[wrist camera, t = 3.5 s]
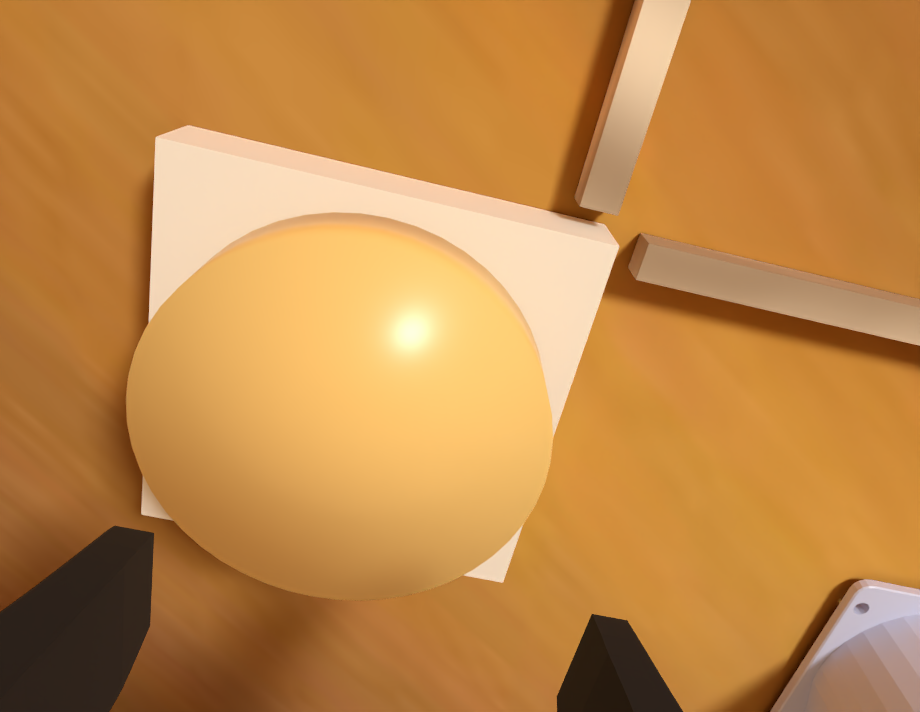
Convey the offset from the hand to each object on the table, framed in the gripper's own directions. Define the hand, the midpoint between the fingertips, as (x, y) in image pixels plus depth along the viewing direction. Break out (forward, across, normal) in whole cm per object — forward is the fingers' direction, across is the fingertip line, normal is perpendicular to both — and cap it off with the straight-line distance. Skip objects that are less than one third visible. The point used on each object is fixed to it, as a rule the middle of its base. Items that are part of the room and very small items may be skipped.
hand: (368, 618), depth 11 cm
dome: (+9, +1, 0) cm, 9 cm away
